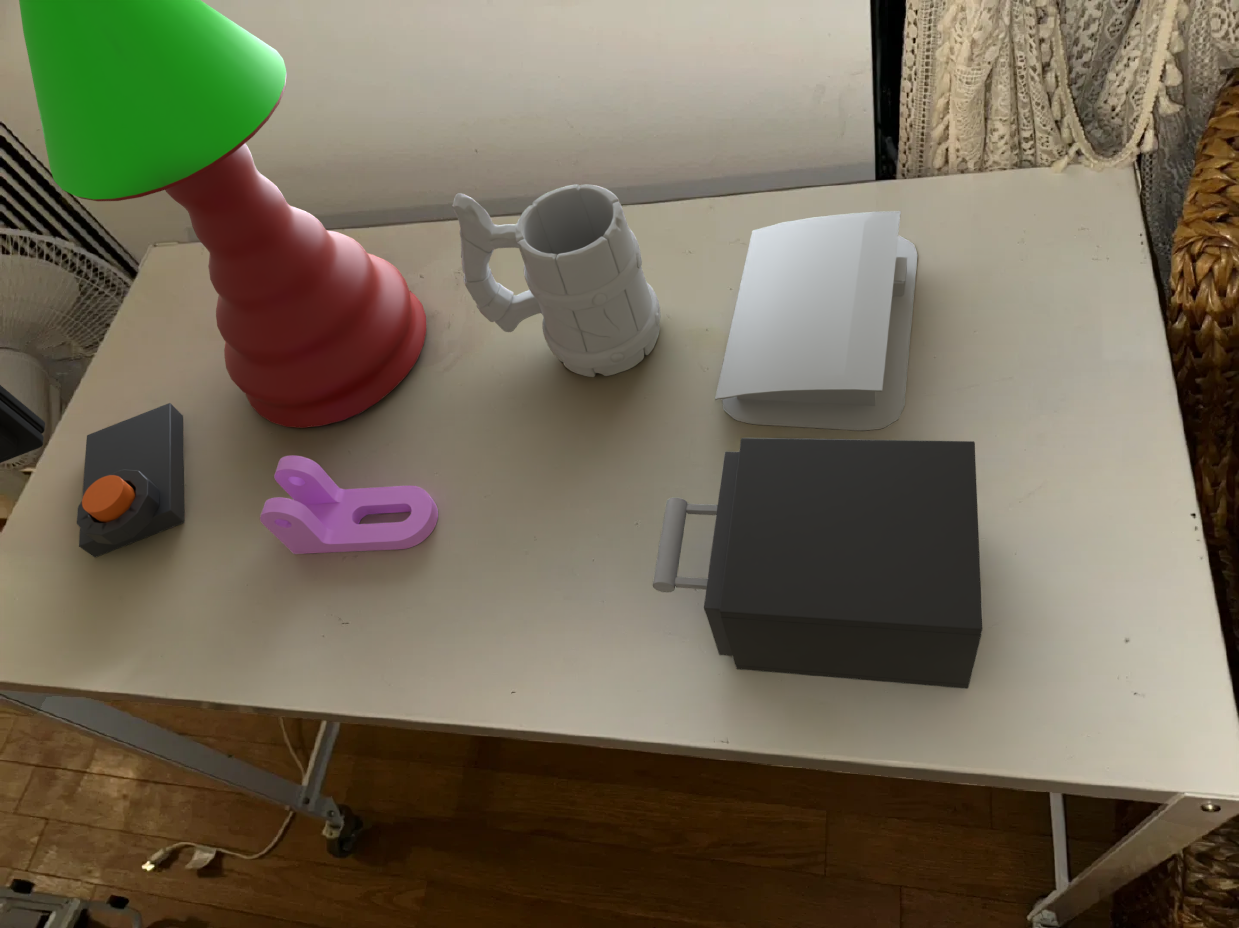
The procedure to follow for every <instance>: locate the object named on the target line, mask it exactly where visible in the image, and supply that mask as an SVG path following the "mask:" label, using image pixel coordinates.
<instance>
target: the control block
mask: <svg viewBox="0 0 1239 928" xmlns="http://www.w3.org/2000/svg"><path fill="white" fill-rule="evenodd" d="M84 454H85V455H84V456H85V457H84V469H83V483H82V496H81V501H80V503H79V504H78V506H77V514H76V525H77V526H78V527H79V535H78V537H79V538H78V547H79V548H81V550H83V551H85V552H86V553H87V554H88V555H90V556H91V557H93V558H97V557H100V556H102V555H105V554H108V553H110V552H112V551H115V550H117V549H120V548H123V547H126V546H128V545H131V544H133V543H135V542H138V541H142V540H143V539H146V538H148V537H151V536H154V535H156V534H158V533H161V532H163V531H166V530H169V529H171V528H174V527H176V526H180V525H181V524H184V523H185V473H184V471H185V469H184V468H185V467H184V415H183V414H182V413H181V412H180V411H179V410H178V408H176V407H175V406H174V404H172V403H171V402H169V403H165V404H163V405H160V406H158V407H156V408H153V409H151V410H148V411H145V412H143V413H140V414H137V415H135V416H132V417H130V418H127V419H124V420H123V421H120V422H117V423H114V424H112V425H109V426H107V427H105V428H102V429H99V430H97V431H94V432H92V433H89V434H87V435H86V443H85V453H84ZM109 475H115V476H119V477H120V478H121V479H123V480H124V481H125V482H126V483H127V484H129V485H130V486H131V487H132V488H133V489H134V491H135V499H134V501H133V502H132V504H131V506H130V508H129V509H128V510H127V511H126V512H124V513H123V514H122V515H121V516H120V517H119V518H117V519H115V520H112V521H110V522H101V521H99V520H97V519H96V518H94V517H93V516H92V515H91V514H89V513H88V512H87V511H85V510H84V508H83V506H82V499H83V496H84V494H85V492H86V490H87V489H88V488H89V487H90V486H91V485H92V484H93V483H94V482H95V481H97V480H98V479H100V478H102V477H105V476H109Z"/></svg>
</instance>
